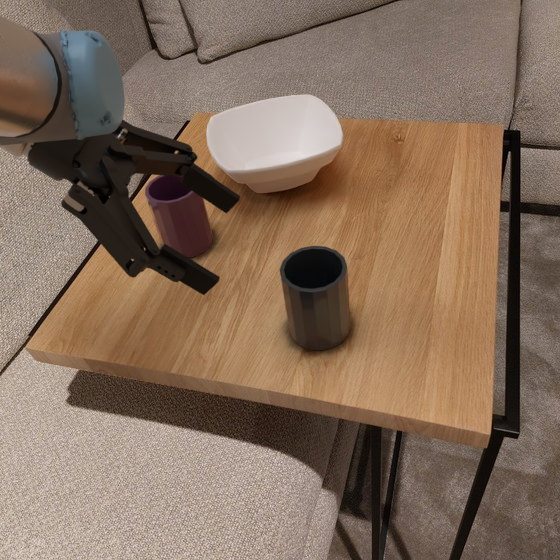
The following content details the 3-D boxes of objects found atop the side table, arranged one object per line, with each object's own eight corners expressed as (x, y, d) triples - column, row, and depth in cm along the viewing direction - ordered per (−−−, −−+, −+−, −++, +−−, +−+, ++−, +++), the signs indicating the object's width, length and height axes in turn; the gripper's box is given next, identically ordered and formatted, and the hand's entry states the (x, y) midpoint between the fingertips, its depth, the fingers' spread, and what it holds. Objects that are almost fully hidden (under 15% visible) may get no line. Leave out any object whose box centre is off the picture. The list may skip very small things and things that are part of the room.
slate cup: (328, 360, 68) (322, 300, 61) (277, 335, 72) (266, 276, 65) (361, 319, 72) (359, 258, 65) (311, 297, 76) (304, 238, 69)
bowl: (359, 196, 90) (357, 147, 84) (227, 227, 88) (216, 180, 82) (322, 132, 105) (318, 86, 99) (209, 157, 103) (198, 113, 97)
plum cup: (189, 265, 83) (172, 208, 76) (153, 248, 87) (133, 193, 80) (223, 235, 87) (209, 179, 80) (187, 220, 90) (171, 165, 84)
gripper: (-1, 179, 46) (222, 309, 54) (102, 45, 63) (258, 158, 71) (-30, 232, 50) (180, 345, 58) (74, 94, 68) (224, 195, 76)
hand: (223, 242), depth 65 cm, fingers open, 13 cm apart
